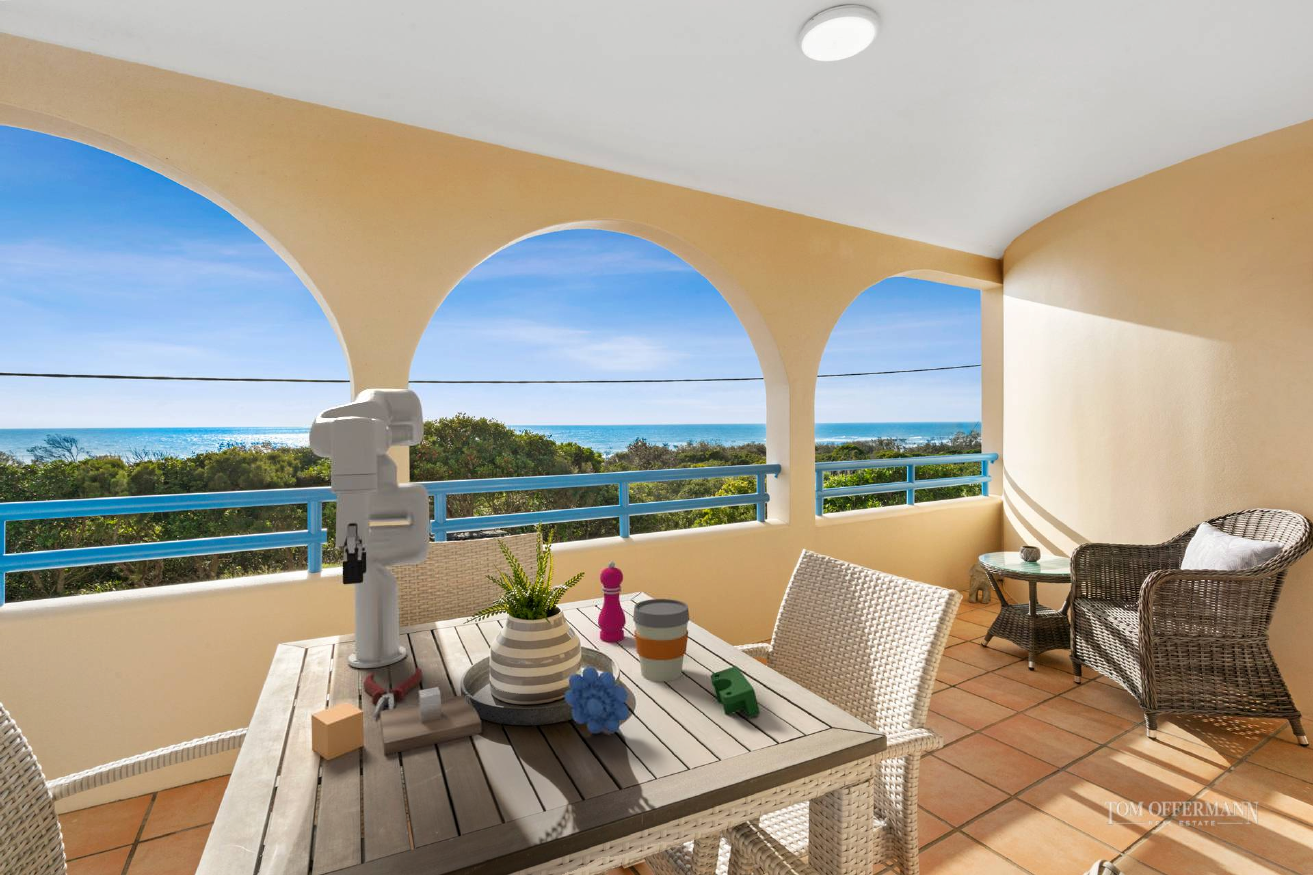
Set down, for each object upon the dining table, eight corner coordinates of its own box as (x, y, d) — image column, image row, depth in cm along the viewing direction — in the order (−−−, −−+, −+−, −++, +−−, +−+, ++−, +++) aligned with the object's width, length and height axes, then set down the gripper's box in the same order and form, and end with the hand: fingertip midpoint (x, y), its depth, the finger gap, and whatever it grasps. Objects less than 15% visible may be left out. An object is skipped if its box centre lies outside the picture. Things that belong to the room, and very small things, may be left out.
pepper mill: (601, 632, 163) (601, 558, 163) (628, 633, 162) (627, 558, 162) (595, 642, 156) (594, 564, 156) (622, 643, 155) (622, 565, 155)
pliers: (349, 725, 114) (349, 712, 114) (366, 682, 133) (366, 671, 133) (415, 717, 117) (415, 704, 117) (422, 676, 137) (422, 665, 137)
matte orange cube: (311, 748, 105) (311, 714, 105) (347, 734, 110) (346, 701, 110) (327, 760, 101) (327, 724, 101) (363, 745, 106) (363, 711, 106)
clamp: (722, 720, 123) (707, 674, 126) (749, 711, 124) (734, 665, 127) (732, 725, 112) (716, 674, 115) (762, 714, 113) (745, 664, 116)
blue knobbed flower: (559, 744, 106) (559, 676, 106) (567, 725, 113) (567, 661, 112) (626, 746, 105) (626, 677, 105) (630, 727, 112) (630, 662, 112)
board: (380, 721, 115) (380, 687, 114) (468, 703, 122) (468, 671, 122) (384, 754, 103) (383, 716, 103) (481, 732, 110) (481, 697, 110)
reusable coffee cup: (690, 663, 142) (690, 599, 142) (688, 686, 130) (688, 615, 129) (637, 661, 143) (636, 597, 143) (629, 683, 131) (629, 614, 131)
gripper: (336, 483, 119) (336, 572, 118) (325, 487, 103) (326, 589, 102) (378, 482, 122) (379, 568, 121) (374, 485, 106) (375, 585, 105)
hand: (355, 578), depth 112 cm, fingers open, 9 cm apart
